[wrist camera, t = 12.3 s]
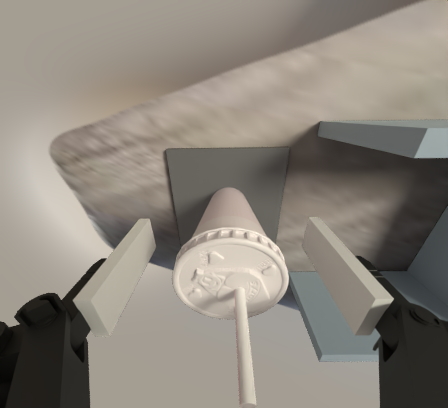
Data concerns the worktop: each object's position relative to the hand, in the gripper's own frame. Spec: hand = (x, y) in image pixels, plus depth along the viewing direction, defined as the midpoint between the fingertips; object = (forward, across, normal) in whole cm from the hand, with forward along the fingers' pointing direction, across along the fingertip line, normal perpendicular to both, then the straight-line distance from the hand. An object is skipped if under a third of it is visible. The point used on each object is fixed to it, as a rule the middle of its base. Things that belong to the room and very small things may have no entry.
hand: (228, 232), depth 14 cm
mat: (+6, 0, 0) cm, 6 cm away
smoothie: (+5, 0, 0) cm, 5 cm away
